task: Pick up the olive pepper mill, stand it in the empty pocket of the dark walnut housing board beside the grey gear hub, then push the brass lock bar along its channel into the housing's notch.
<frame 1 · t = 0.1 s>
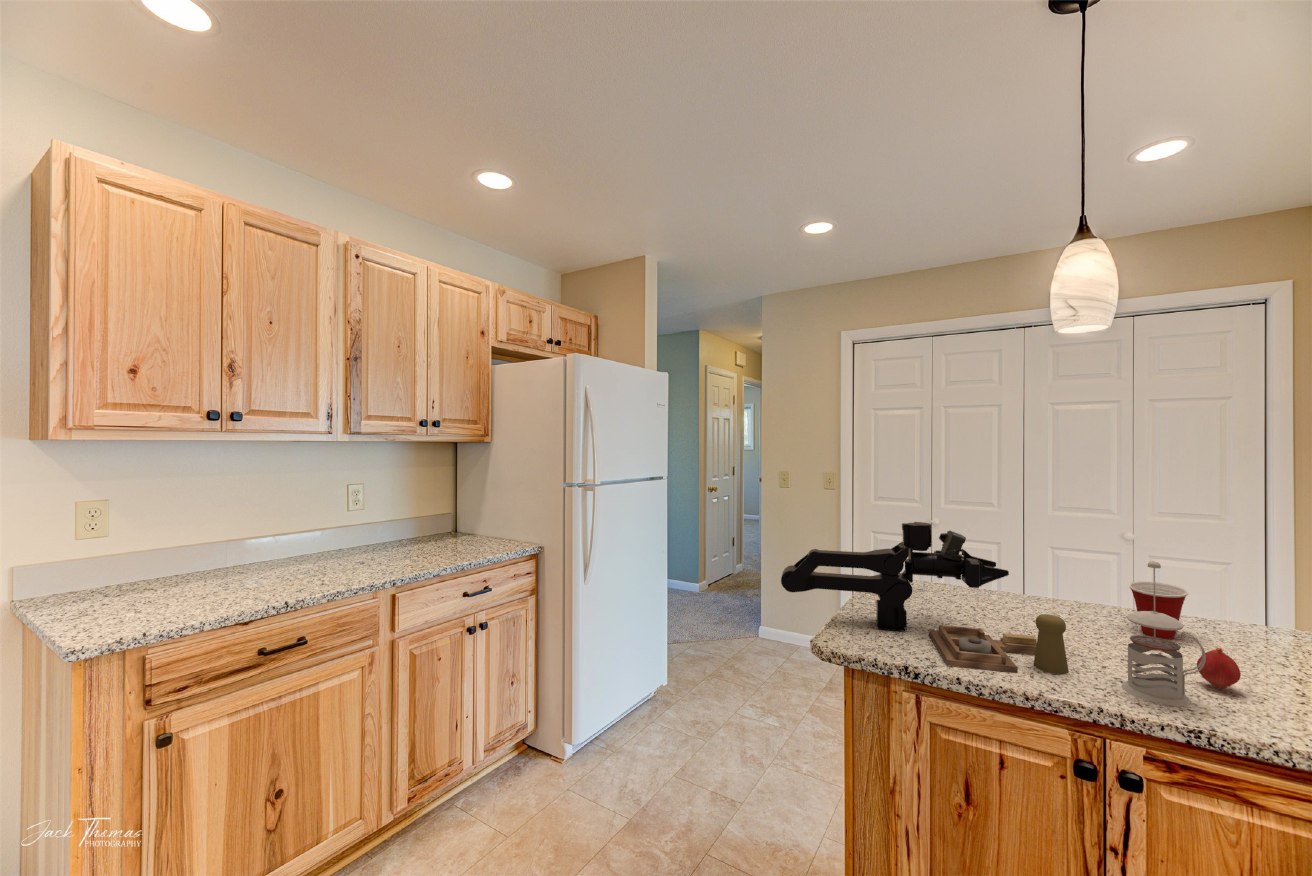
hand: (1002, 568, 132), 17 cm above the worktop, tool horizontal, fingers open, 9 cm apart
french press: (1161, 695, 101), on the worktop
olive pepper mill: (1050, 669, 113), on the worktop
housing: (969, 651, 122), on the worktop
lock bar: (1019, 640, 123), point 2 cm above the worktop, slide at 0.0 cm
onion: (1218, 689, 104), on the worktop
plastic cup: (1157, 636, 132), on the worktop
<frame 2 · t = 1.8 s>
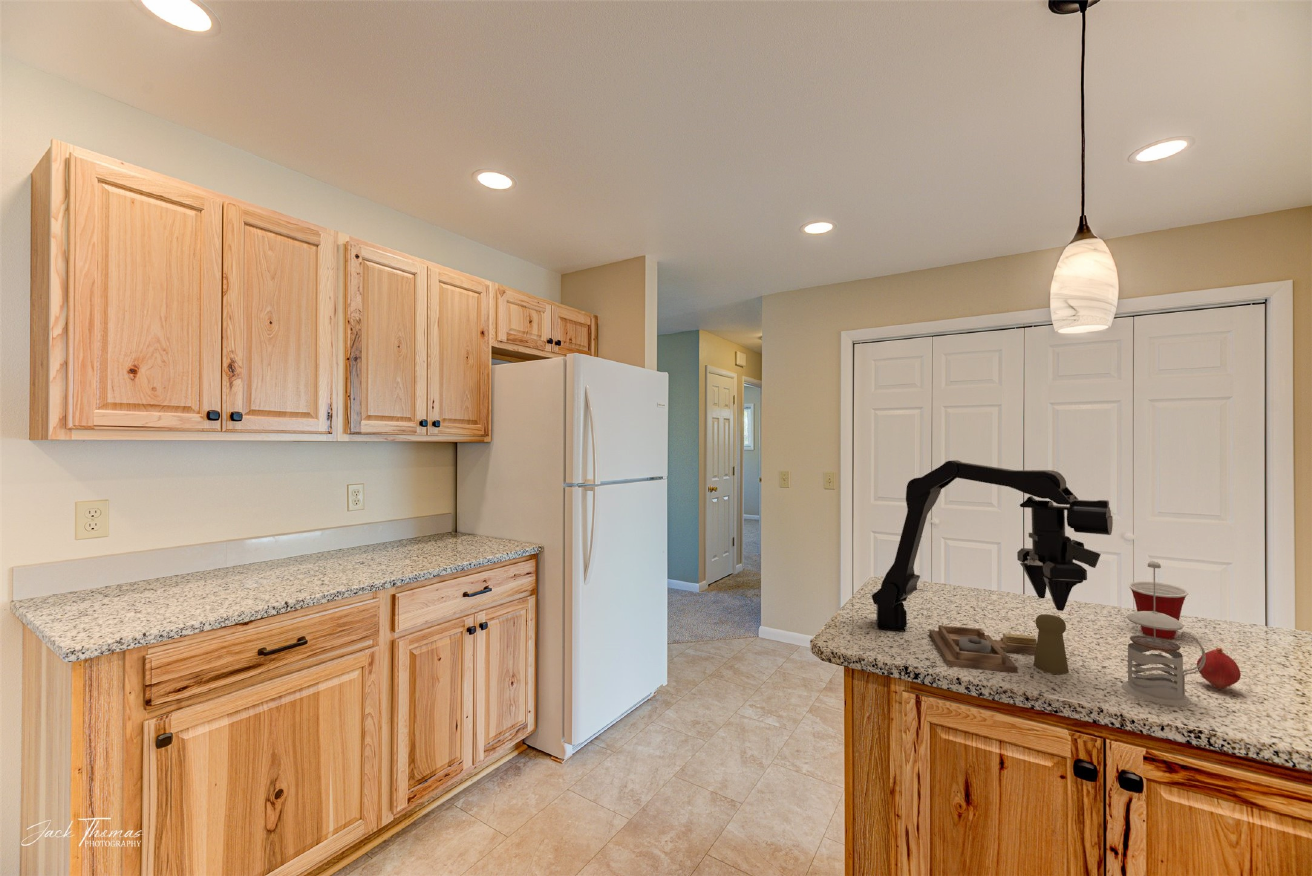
hand: (1050, 604, 114), 13 cm above the worktop, tool pointing down, fingers open, 9 cm apart
nothing on the worktop moved.
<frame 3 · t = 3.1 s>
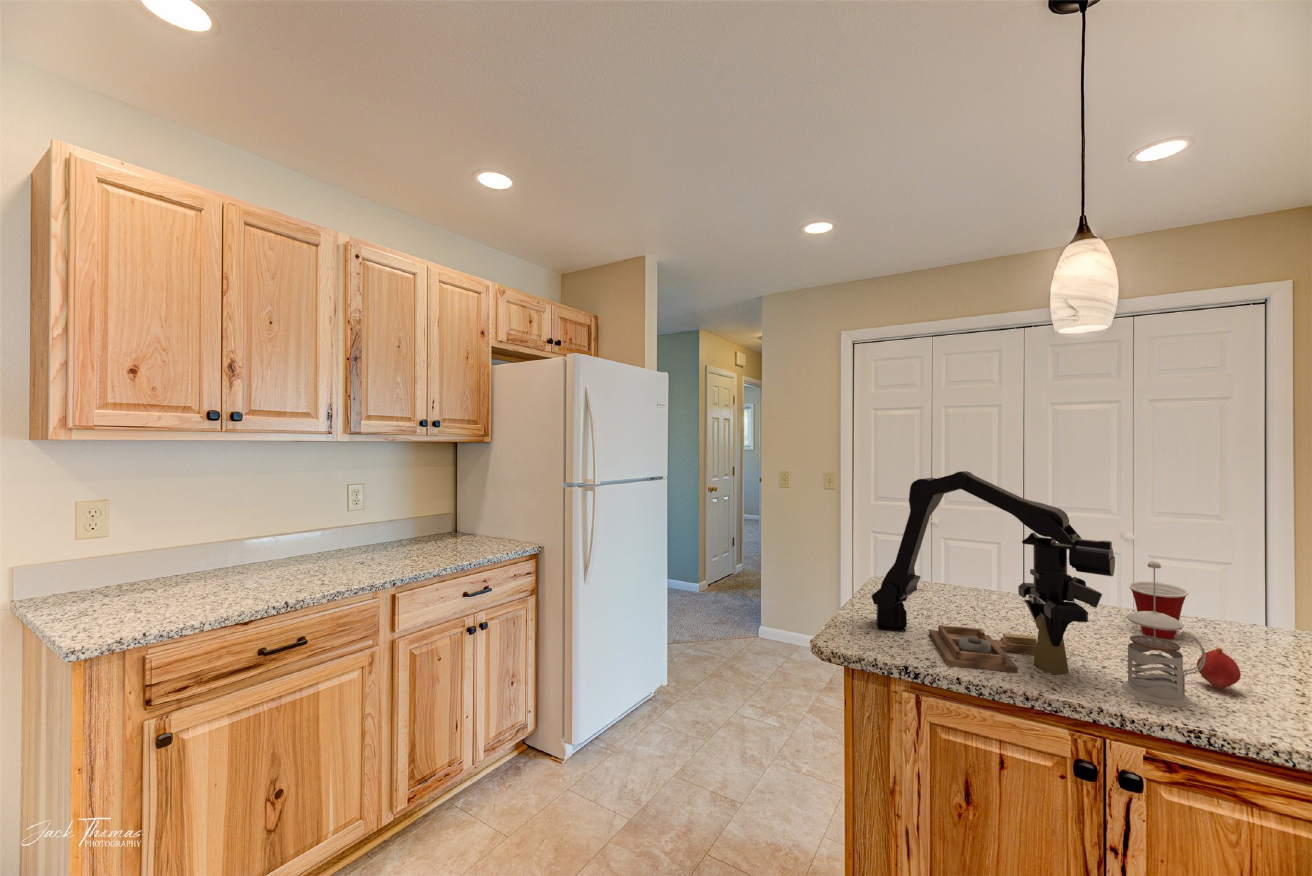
hand: (1050, 641, 113), 6 cm above the worktop, tool pointing down, fingers closed on olive pepper mill, 5 cm apart
olive pepper mill: (1050, 668, 113), on the worktop, touching gripper
everything else where it was.
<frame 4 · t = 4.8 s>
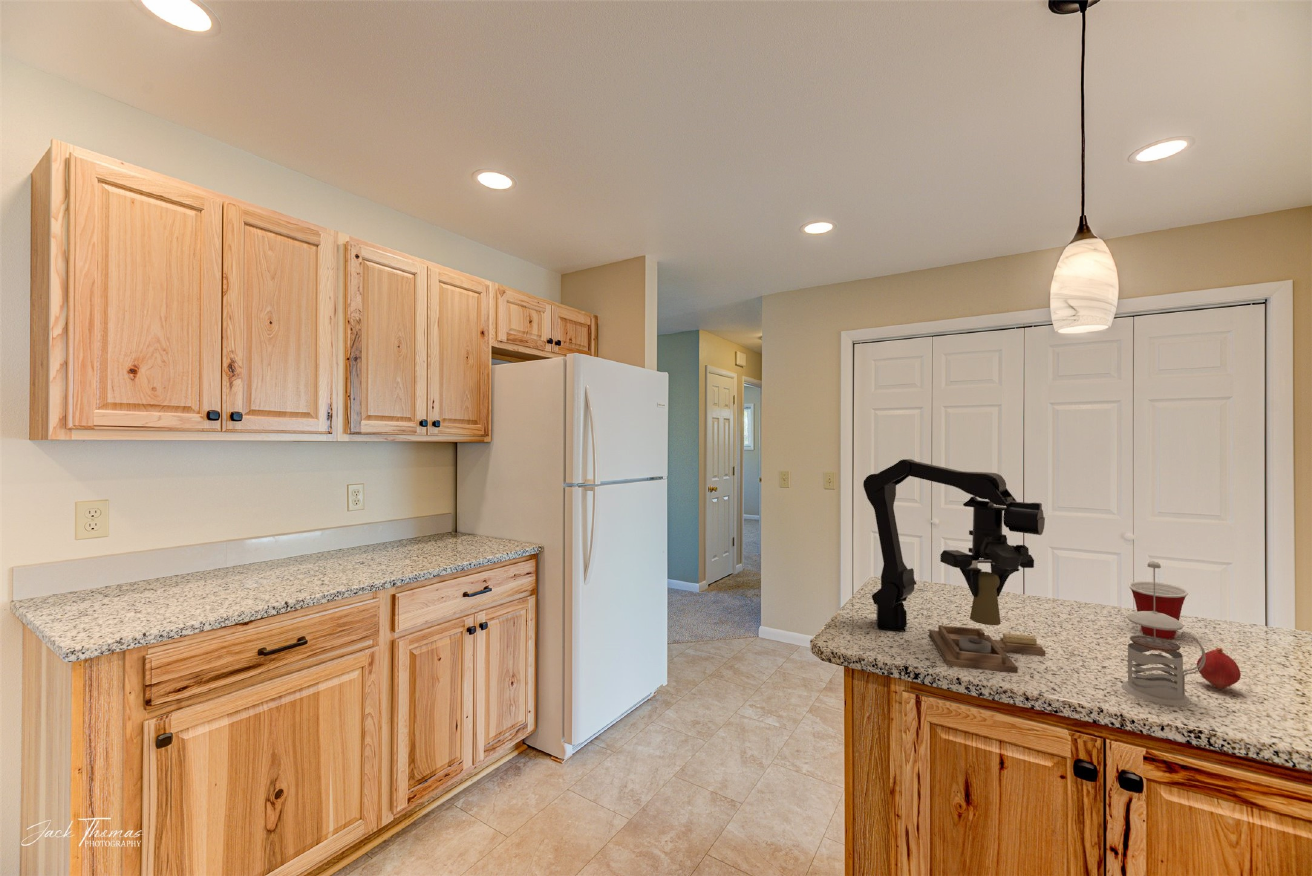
hand: (985, 596, 123), 12 cm above the worktop, tool pointing down, fingers closed on olive pepper mill, 5 cm apart
olive pepper mill: (985, 621, 123), point 7 cm above the worktop, touching gripper
everything else where it was.
when the fingers open (8 cm above the worktop, at t = 6.5 s): olive pepper mill stays where it is, resting on housing.
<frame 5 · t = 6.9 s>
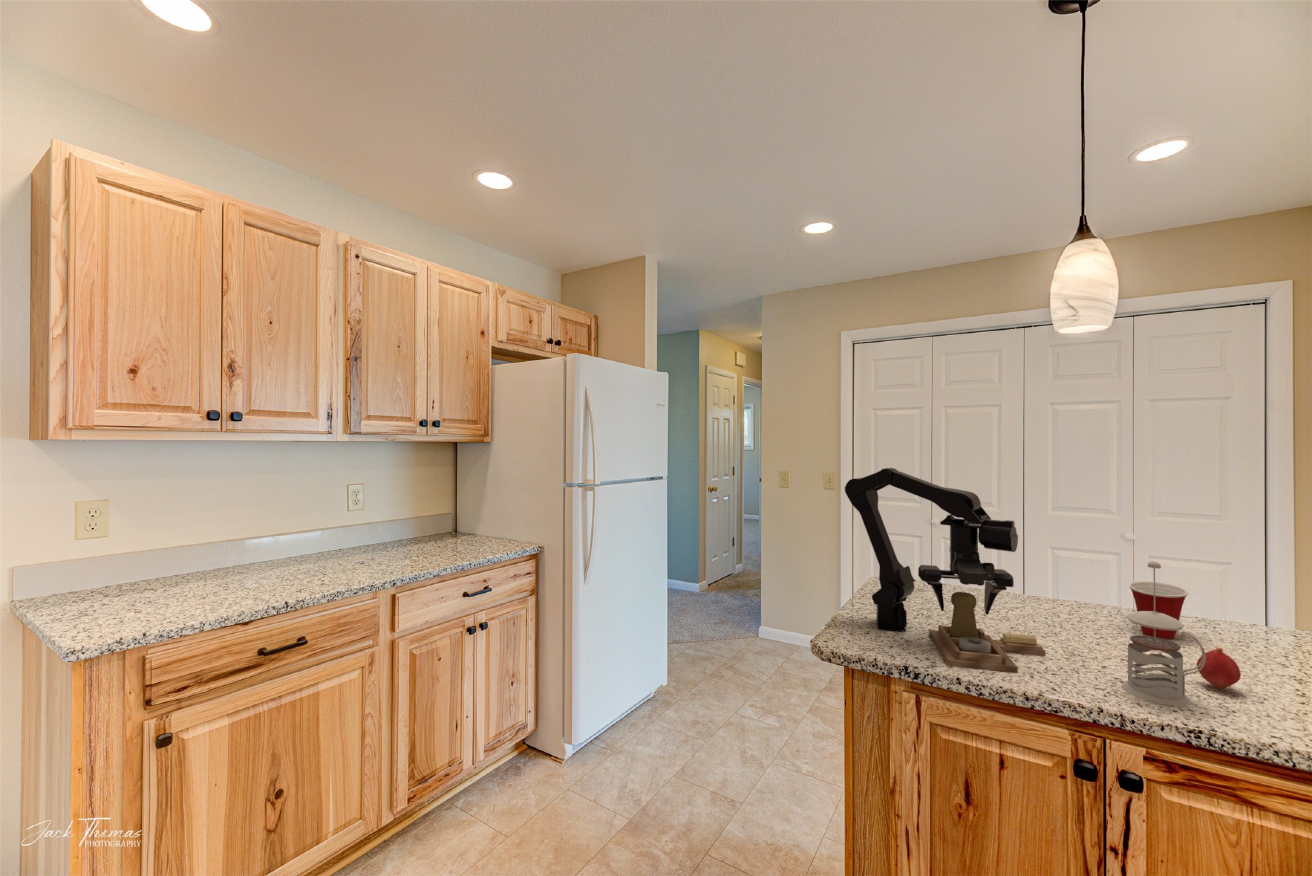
hand: (964, 612, 126), 8 cm above the worktop, tool pointing down, fingers open, 9 cm apart
olive pepper mill: (964, 640, 126), point 1 cm above the worktop, touching housing
everything else where it was.
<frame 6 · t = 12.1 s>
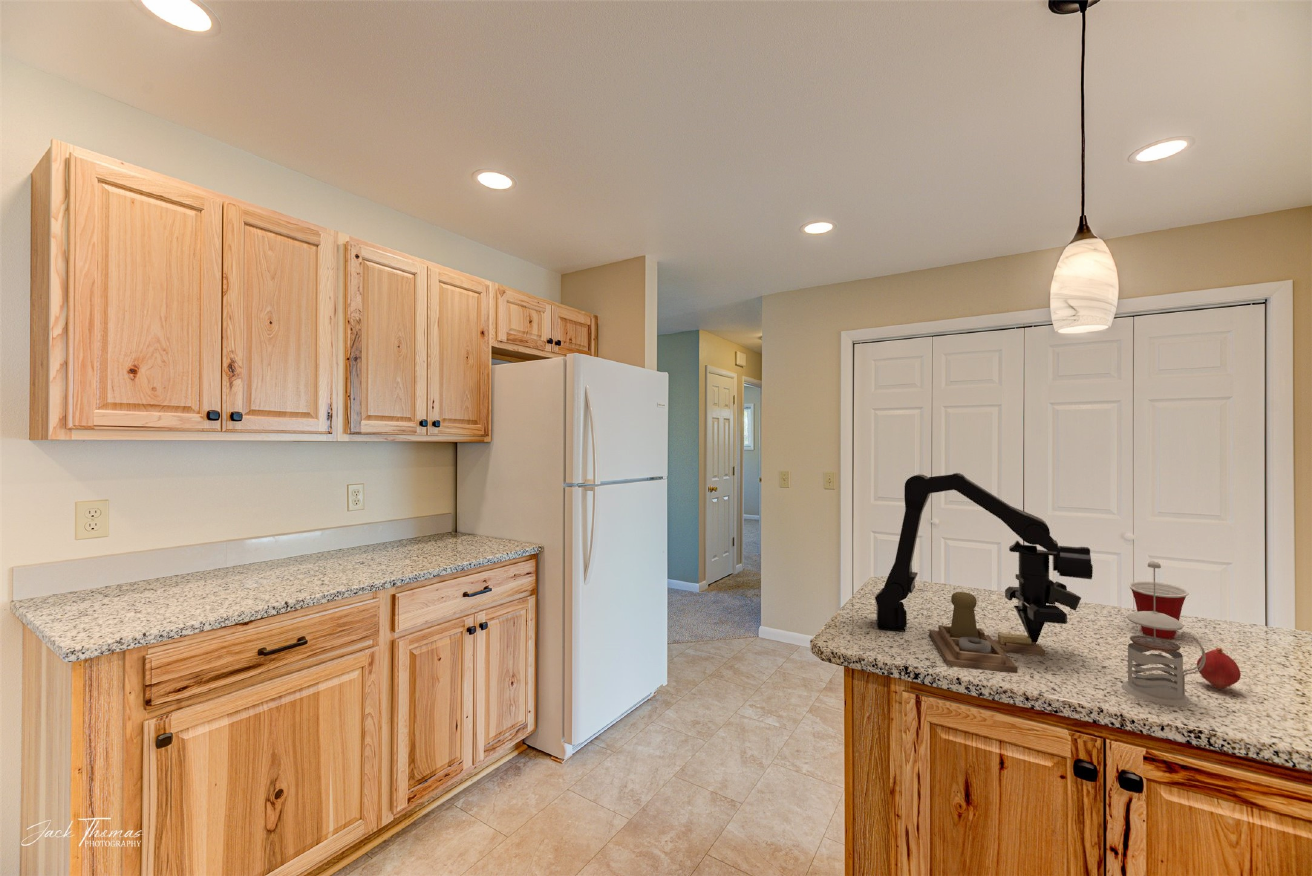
hand: (1033, 641, 122), 2 cm above the worktop, tool pointing down, fingers closed, pressing on lock bar
lock bar: (1014, 639, 123), point 2 cm above the worktop, slide at 1.0 cm, touching gripper
everything else where it was.
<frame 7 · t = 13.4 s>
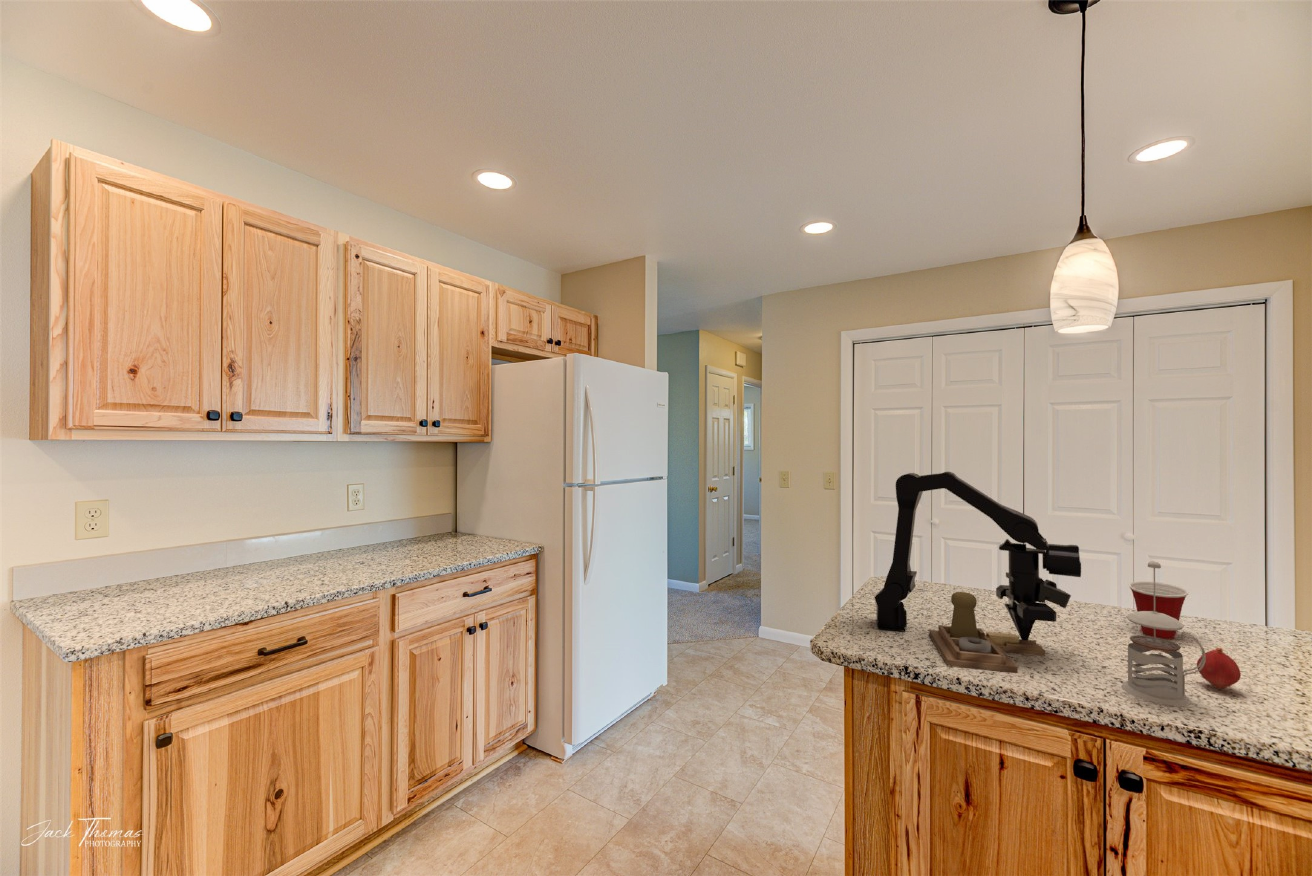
hand: (1024, 639, 123), 3 cm above the worktop, tool pointing down, fingers closed
lock bar: (1002, 638, 124), point 2 cm above the worktop, slide at 3.4 cm
everything else where it was.
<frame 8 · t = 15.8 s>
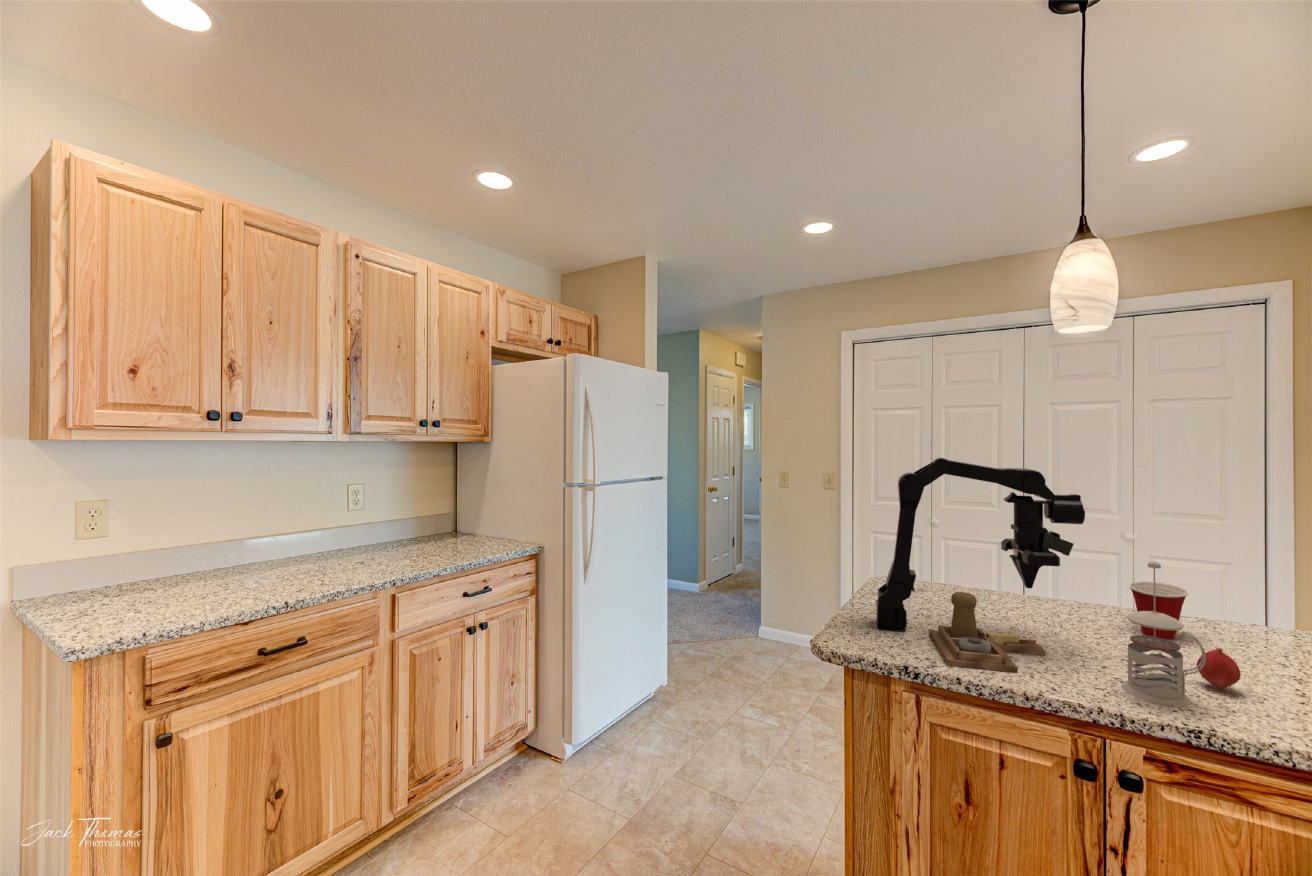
hand: (1028, 587, 128), 13 cm above the worktop, tool pointing down, fingers closed
nothing on the worktop moved.
at the end: olive pepper mill 0.1 cm from the target spot on the housing, point 1.0 cm above the housing's base; olive pepper mill tilted 0°; lock bar slide at 3.4 cm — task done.
